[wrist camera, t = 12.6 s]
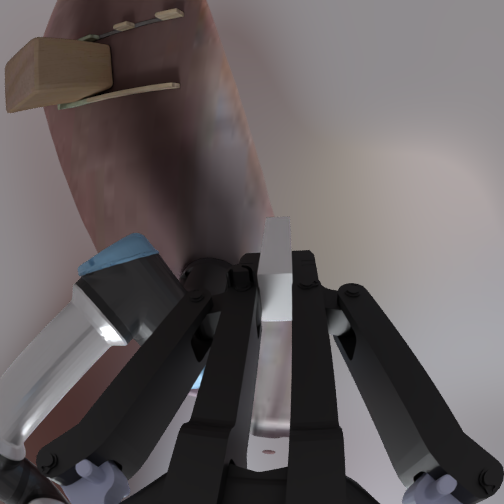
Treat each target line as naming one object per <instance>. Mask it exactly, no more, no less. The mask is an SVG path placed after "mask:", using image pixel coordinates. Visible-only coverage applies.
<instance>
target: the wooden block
mask: <svg viewBox="0 0 504 504" xmlns="http://www.w3.org/2000/svg"><path fill="white" fill-rule="evenodd" d="M112 85H113V79H112V67H111V54H110V47H109V45H106V44H100V43H94V42H87V41H79V40H71V39H60V38H46V37H37V38H34V39H32V40H31V41H29V42H28V43H27V44H26V45H25V46H24V47H23V48H22V49H21V50H20V51H19V52H17V54H15V55H14V56H13V58H11V59H10V61H8V63H7V64H6V67H5V97H6V110H7V112H8V113H14V112H18V111H22V110H28V109H33V108H38V107H44V106H50V105H56V104H64V103H71V102H77V101H80V100H84V99H87V98H89V97H91V96H93V95H95V94H98V93H100V92H102V91H105V90H107V89H109V88H111V87H112Z"/></svg>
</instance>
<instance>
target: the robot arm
mask: <svg viewBox="0 0 504 504" xmlns="http://www.w3.org/2000/svg"><path fill="white" fill-rule="evenodd" d="M78 272H79V276H81V278H80V279H79V280H78V281H77V282H76V283H75V284H74V285H73V297H72V300H71V302H70V303H69V304H68V305H67V306H66V307H65V308H64V309H63V310H62V311H61V312H60V313H59V314H58V315H57V316H56V317H55V318H54V319H53V320H52V321H51V322H50V323H49V324H48V325H47V326H46V327H45V328H44V329H43V330H42V331H41V332H40V333H39V334H38V335H37V336H36V338H35V339H34V340H33V341H32V342H31V343H30V344H29V345H28V346H27V347H26V348H25V349H24V351H23V352H22V353H21V354H20V355H19V356H18V357H17V358H16V359H15V361H14V362H13V363H12V364H11V365H10V366H9V368H8V369H7V370H6V371H5V372H4V374H3V375H2V376H1V377H0V500H1V501H2V502H4V503H5V504H70V503H69V502H68V501H67V499H66V498H65V497H64V496H63V494H62V493H61V492H60V491H59V490H58V489H57V487H56V486H55V485H54V484H53V483H52V482H51V481H50V480H52V481H54V482H56V483H57V484H59V485H60V486H61V487H62V489H63V490H64V492H65V494H66V496H67V497H68V499H69V501H70V502H71V504H380V503H379V502H378V501H376V500H375V499H374V498H373V497H372V496H371V495H370V494H369V493H368V492H367V491H366V490H365V489H363V488H362V487H361V486H360V485H359V484H358V483H357V482H355V481H354V480H353V479H351V478H349V477H347V476H346V475H345V457H344V439H343V432H342V428H341V427H340V426H339V422H338V411H337V399H336V389H335V380H334V370H333V362H332V354H331V346H330V339H329V334H331V335H333V337H334V340H335V342H336V344H337V346H338V348H339V350H340V352H341V354H342V356H343V358H344V360H345V362H346V364H347V366H348V368H349V371H350V372H351V375H352V377H353V379H354V381H355V383H356V385H357V387H358V389H359V391H360V394H361V396H362V398H363V400H364V402H365V404H366V406H367V409H368V411H369V413H370V415H371V418H372V420H373V422H374V424H375V426H376V429H377V431H378V433H379V435H380V438H381V440H382V442H383V444H384V447H385V449H386V451H387V454H388V456H389V458H390V461H391V463H392V465H393V467H394V469H395V471H396V473H397V475H398V477H399V479H400V480H401V482H402V483H403V485H404V486H405V487H406V488H407V490H406V492H405V494H404V496H403V500H402V504H476V503H478V502H480V501H482V500H484V499H487V498H488V497H490V496H492V495H494V494H495V493H496V492H497V490H498V489H499V488H500V486H501V484H502V482H503V476H504V471H503V467H502V465H501V464H500V463H499V461H498V460H496V459H495V458H494V457H493V456H492V455H490V454H489V453H488V452H487V451H486V450H484V449H483V448H482V447H481V446H479V445H478V444H477V443H476V442H474V441H473V440H472V439H471V438H470V437H469V436H467V435H466V434H465V433H464V432H463V431H462V429H461V427H460V425H459V424H458V422H457V420H456V419H455V417H454V415H453V414H452V412H451V411H450V409H449V407H448V405H447V404H446V402H445V400H444V399H443V397H442V396H441V394H440V393H439V391H438V390H437V388H436V386H435V385H434V383H433V382H432V380H431V379H430V377H429V376H428V374H427V372H426V371H425V370H424V368H423V366H422V365H421V364H420V362H419V361H418V359H417V358H416V356H415V355H414V353H413V352H412V350H411V349H410V348H409V346H408V345H407V343H406V342H405V340H404V339H403V338H402V336H401V335H400V333H399V332H398V331H397V329H396V328H395V327H394V325H393V324H392V322H391V321H390V320H389V319H388V317H387V316H386V314H385V313H384V312H383V310H382V309H381V308H380V306H379V305H378V304H377V302H376V301H375V300H374V299H373V297H372V296H371V295H370V294H369V292H368V291H367V290H366V289H365V288H364V287H363V286H361V285H359V284H354V283H349V284H344V285H342V286H341V287H340V288H339V289H338V291H336V290H330V289H327V288H325V287H323V286H322V285H321V283H320V281H319V280H318V274H317V268H316V263H315V257H314V254H313V253H312V252H311V251H310V250H304V251H291V229H290V217H269V218H266V223H265V229H264V235H263V241H262V248H261V253H246V254H245V255H244V256H243V257H242V258H241V259H240V263H239V264H236V265H234V266H232V265H231V264H229V263H227V262H225V261H222V260H219V259H214V258H203V259H199V260H196V261H194V262H192V263H190V264H189V265H188V266H187V267H186V268H185V270H184V271H183V273H182V274H181V276H180V279H179V280H178V279H177V278H176V276H175V275H174V274H173V272H172V271H171V270H170V268H169V267H168V266H167V264H166V263H165V262H164V260H163V259H162V257H161V256H160V255H159V252H158V251H157V250H155V249H154V247H153V246H152V245H151V244H150V242H149V241H148V240H147V239H146V237H145V236H143V235H142V234H140V233H132V234H130V235H128V236H126V237H124V238H122V239H121V240H119V241H117V242H116V243H114V244H112V245H111V246H109V247H107V248H106V249H104V250H103V251H101V252H100V253H98V254H97V255H95V256H94V257H92V258H91V259H90V260H88V261H86V262H85V263H83V264H82V265H80V266H79V267H78ZM261 317H262V321H292V383H291V418H290V437H289V457H288V467H284V468H279V469H274V470H269V471H263V472H255V471H252V470H248V469H247V447H248V440H249V432H250V424H251V417H252V409H253V401H254V392H255V384H256V376H257V367H258V359H259V350H260V341H261V332H262V326H261ZM133 338H134V339H135V340H136V341H137V342H138V344H139V345H140V346H141V347H140V348H139V350H138V351H137V352H136V353H135V354H134V356H133V357H132V358H131V359H130V361H129V362H128V363H127V364H126V366H125V367H124V368H123V369H122V370H121V371H120V373H119V374H118V375H117V377H116V378H115V379H114V380H113V381H112V383H111V384H110V385H109V386H108V387H107V389H106V390H105V391H104V393H103V394H102V395H101V396H100V397H99V399H98V400H97V401H96V403H95V404H94V405H93V407H91V409H90V410H89V411H88V413H87V414H86V415H85V416H84V418H83V419H82V420H81V422H80V423H79V424H77V425H76V426H75V427H73V428H72V429H70V430H68V431H67V432H65V433H64V434H63V435H61V436H60V437H58V438H56V439H55V440H53V441H52V442H50V443H49V444H47V445H45V446H44V447H43V448H42V449H41V450H40V451H39V452H38V455H37V459H36V464H37V466H35V465H34V464H33V463H32V462H30V461H29V460H28V459H27V458H25V454H26V452H25V448H24V444H23V442H24V441H25V440H26V439H27V438H28V436H29V435H30V434H31V433H32V432H33V431H34V429H35V428H36V427H37V426H38V425H39V424H40V423H41V421H42V420H43V419H44V418H45V417H46V415H47V414H48V413H49V412H50V411H51V410H52V409H53V408H54V407H55V405H56V404H57V403H58V402H59V401H60V400H61V399H62V398H63V396H64V395H65V394H66V393H67V392H68V391H69V390H70V389H71V388H72V386H74V384H75V383H76V382H77V381H78V380H79V379H80V378H81V377H82V376H83V375H84V374H85V373H86V372H87V370H88V369H89V368H90V367H91V366H92V365H93V364H94V363H95V362H96V361H97V360H98V358H100V357H101V356H102V354H104V352H105V351H106V350H107V349H108V348H109V347H110V346H113V345H122V346H125V345H127V344H128V343H129V342H130V340H132V339H133ZM196 388H199V390H198V394H197V398H196V401H195V405H194V408H193V412H192V416H191V419H190V421H189V422H187V423H184V424H183V425H182V426H181V428H180V431H179V434H178V437H177V440H176V444H175V447H174V451H173V454H172V458H171V461H170V465H169V468H168V472H167V473H165V474H164V475H162V476H161V477H159V478H158V479H156V480H155V481H153V482H152V483H150V484H149V485H147V486H146V487H144V488H143V489H141V490H140V491H138V492H137V493H135V494H134V495H132V496H130V497H129V498H127V499H126V500H124V501H122V502H121V500H122V499H123V497H126V496H128V495H129V493H130V488H129V484H128V480H129V479H130V478H131V477H132V476H133V475H134V474H135V473H136V472H137V471H138V470H139V469H140V468H141V467H142V465H143V464H144V462H145V461H146V460H147V458H148V457H149V455H150V453H151V452H152V451H153V449H154V447H155V446H156V444H157V443H158V441H159V440H160V438H161V436H162V435H163V433H164V432H165V430H166V428H167V427H168V425H169V424H170V422H171V420H172V419H173V417H174V416H175V414H176V412H177V411H178V409H179V408H180V406H181V404H182V403H183V401H184V400H185V398H186V396H187V395H188V393H189V391H190V390H191V389H196ZM49 479H50V480H49Z"/></svg>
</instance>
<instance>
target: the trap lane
mask: <svg viewBox="0 0 504 504" xmlns="http://www.w3.org/2000/svg"><path fill="white" fill-rule="evenodd" d="M155 17H157V18H155V19H151V20H147V21H143V22H140V23H136V24H134V23H131V22H128V21H125V22H122V23H119V24H116V25H114V26H113V29H116V30H114V31H111V32H108V33H105V34H102V35H100V36H98V35H92V34H89V35H87V36H85V37H82V38H80V39H78V40H79V41H87V42H93V41H96V40H98V39H101V38H104V37H107V36H109V35H112V34H115V33H119V32H122V31H125V30H128V29H132V28H135V27H139V26H142V25H146V24H150V23H154V22H159V21H163V20H168V19H173V18H178V17H184V13H183V12H182V11H180V10H179V9H177V8H175V9H170V10H166V11H161V12H157V13H155ZM175 88H180V84H179V83H172V82H171V83H163V84H156V85H149V86H143V87H137V88H132V89H126V90H121V91H116V92H112V93H107V94H103V95H99V96H95V97H91V98H87V99H84V100H80V101H77V102H71V103H64V104H58V110H60V109H66V108H73V107H77V106H81V105H85V104H89V103H93V102H97V101H101V100H106V99H110V98H115V97H120V96H125V95H131V94H137V93H143V92H150V91H157V90H165V89H175Z"/></svg>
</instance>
